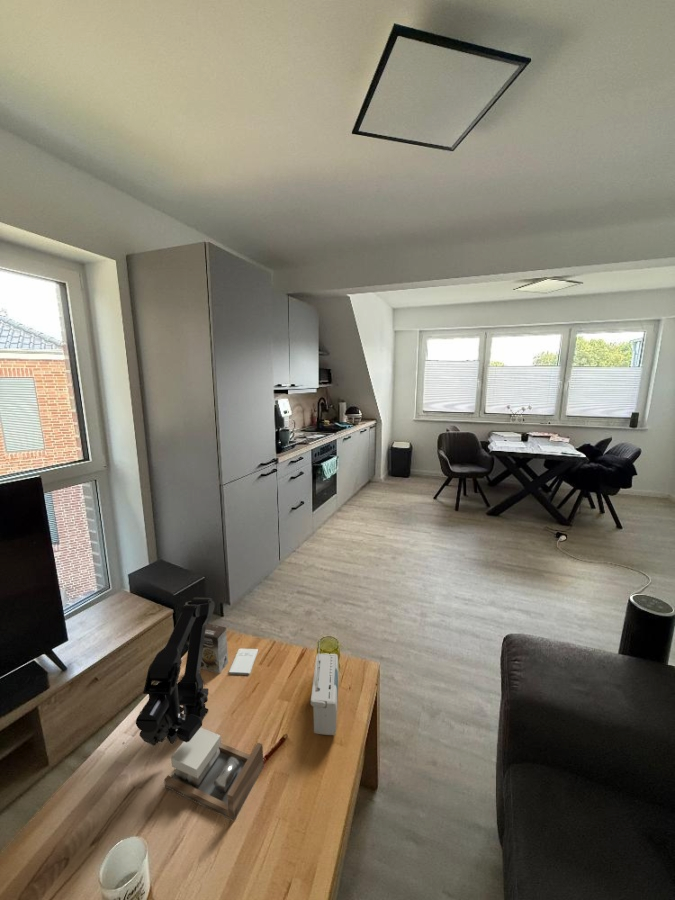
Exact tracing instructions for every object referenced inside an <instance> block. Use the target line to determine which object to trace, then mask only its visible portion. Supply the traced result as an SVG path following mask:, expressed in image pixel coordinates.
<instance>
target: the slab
mask: <svg viewBox="0 0 675 900" xmlns="http://www.w3.org/2000/svg"><path fill="white" fill-rule="evenodd" d="M221 743H222V736H221V735H220V734H218V733H215V732H213V731H210V730H208V729H205V728H203V727H202V726H201V727H200V728H199V730H198V731H197V732H196V734H195V735H194V736H193V737H192V739H191V740H190V741H189V742H184V741H182V743H181V744H180V745H179V746H178V748H177V749H176V750H175V752H174V753H173V755H172V756H171V757H170V761H171V763H170V764H171V767H172V768H174V769H178V770H180V771H182V772H185V773H187V774H189V775H191V776H193V777H195V778H197V779H198V777H199V776H200V774H201V773H202V771H203V770H204V769H205V767H206V766H207V764H208V763H209V761H210V760H211V758H212V757H213V755H214V754H215V752H216V751H217V750H218V748H219V747H220V745H221Z"/></svg>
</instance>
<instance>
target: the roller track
mask: <svg viewBox="0 0 675 900" xmlns="http://www.w3.org/2000/svg"><path fill="white" fill-rule="evenodd" d="M263 751H264V749H263V744H262V743H261V742H258V741H257V742H256V744H255V746H254V748H253V749H252V751H251V753H249V754H248V753H246V752H245V751H242V750H239V749H237V748H235V747H232V746H229V745H227V744H224V743H222V742H221V745H220V747H219V748H218V750H217V751H216V752H215V754H214V755H213V757H212V758H211V760H210V761H209V763H208V764H207V766H206V767H205V769H204V770H203V771H202V773H201V774H200V776H199V777H198V779H197V778H195V777H193V776H191V775H189V774H187V773H185V772H182V771H180V770H178V769H176V768H174V773H173V774H172V775H171V776H170V775H167V776H166V777H165V778H164V784H165V785H164V787H165V788H167V789H168V790H170V791H173V792H175V793H177V794H179V795H181V796H183V797H184V798H187V799H189V800H191V801H193V802H195V803H197V804H199V805H201V806H203V807H205V808H207V809H210V810H211V811H212V812H213V811H214V812H215V813H217V814H219V815H221V816H223V817H225V818H227V819H229V820H232V821H233V822H235V821H236V819H237V817H238V815H239V813H240V812H241V810H242V808H243V806H244V804H245V802H246V800H247V799H248V797H249V795H250V793H251V791H252V790H253V787H254V785H255V784H256V782H257V780H258V778H259V775H261V772H262V770H263V768H264V752H263ZM230 757H234V758H236V759H237V760H238V761H239V763H240V768H239V770H238V772H237V773H236V775H235V777H234V778H233V780H232V782H231V783H230V785H229V787H228V788H227V790H226V792H225V793H220V792H218V791H217V790H216V788H215V787H214V781H215V780H216V778H217V776H218V775H219V773H220V772H221V770H222V769H223V767H224V765H225V764H226V762H227V761H228V759H229V758H230Z"/></svg>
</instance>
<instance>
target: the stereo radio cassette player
mask: <svg viewBox="0 0 675 900" xmlns="http://www.w3.org/2000/svg"><path fill="white" fill-rule="evenodd" d="M320 643H321V639H318V653H317V654H316V655H315V656H316V657H315V664H314V672H313V679H312V689H311V696H310V705H311V706H312V709H313V733H314V734H317V735H325V736H335V735H336V733H337V724H338V723H337V722H338V721H337V720H338V702H339V701H338V698H339V676H340V675H339V669H340V667H339V666H340V665H339V656H338V654H336V653H330V654H329V653H328V652H327V653H326V652H325V653H320V650H321V649H320V647H321V644H320Z"/></svg>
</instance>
